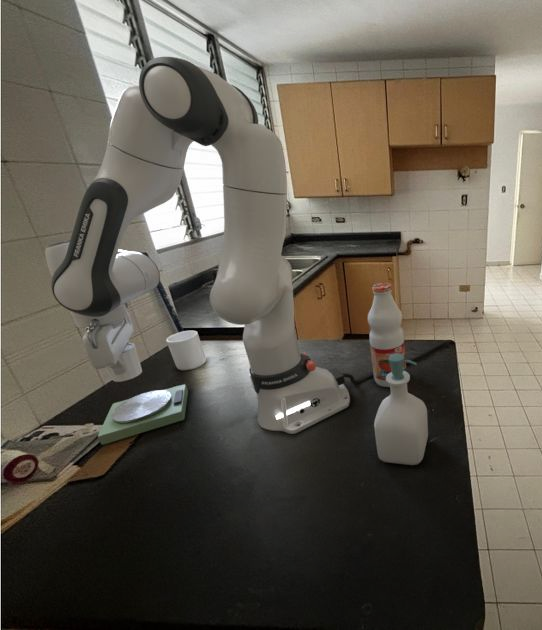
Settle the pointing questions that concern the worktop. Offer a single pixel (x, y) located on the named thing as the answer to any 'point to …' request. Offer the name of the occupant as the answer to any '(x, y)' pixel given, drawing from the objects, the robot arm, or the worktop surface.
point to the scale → (161, 418)
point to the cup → (186, 350)
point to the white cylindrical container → (127, 364)
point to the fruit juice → (384, 332)
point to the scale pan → (141, 406)
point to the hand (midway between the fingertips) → (124, 366)
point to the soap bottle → (401, 419)
